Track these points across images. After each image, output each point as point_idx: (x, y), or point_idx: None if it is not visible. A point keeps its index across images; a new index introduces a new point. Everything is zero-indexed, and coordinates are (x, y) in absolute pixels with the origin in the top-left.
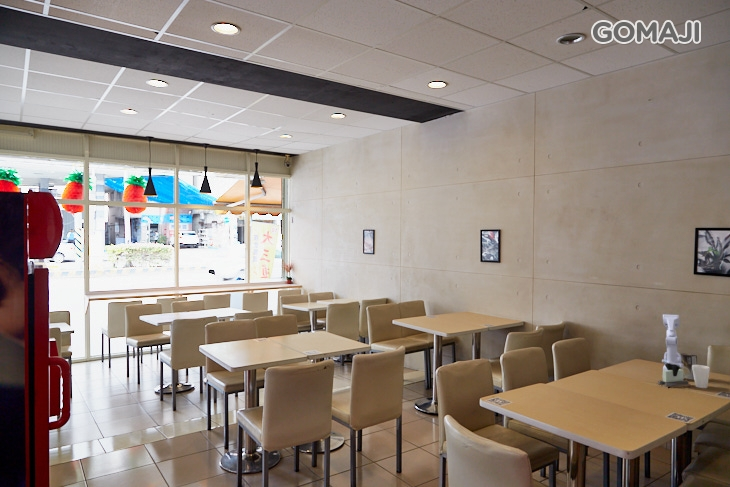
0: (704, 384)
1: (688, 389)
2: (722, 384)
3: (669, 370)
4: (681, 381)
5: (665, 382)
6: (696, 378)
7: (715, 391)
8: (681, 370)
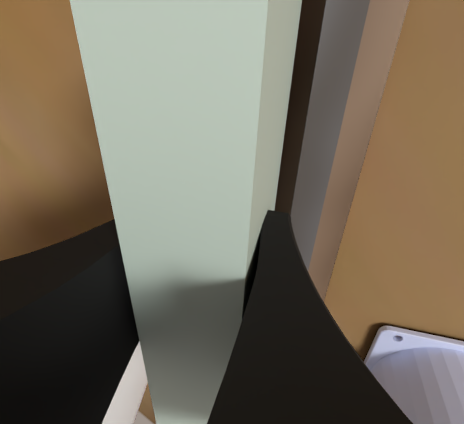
0: None
1: (63, 137)
2: (147, 415)
3: (196, 234)
4: None
5: (314, 63)
6: None
7: None
8: (158, 417)
